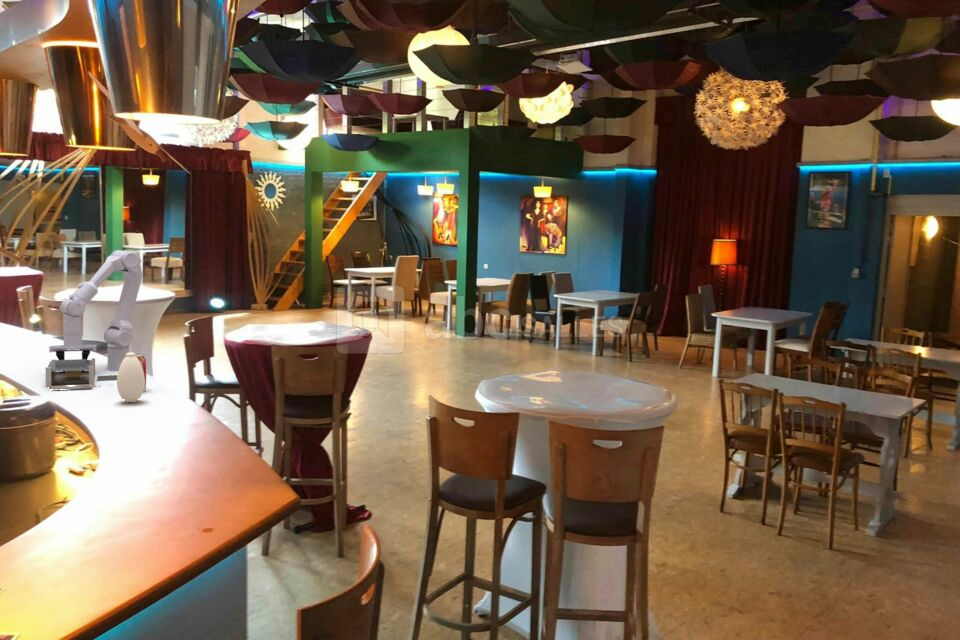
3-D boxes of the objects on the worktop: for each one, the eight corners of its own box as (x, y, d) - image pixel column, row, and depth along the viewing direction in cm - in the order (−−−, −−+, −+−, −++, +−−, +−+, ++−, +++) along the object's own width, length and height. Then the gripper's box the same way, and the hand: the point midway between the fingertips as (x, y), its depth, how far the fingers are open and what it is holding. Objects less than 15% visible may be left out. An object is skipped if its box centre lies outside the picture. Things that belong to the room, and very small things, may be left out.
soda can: (150, 389, 258) (150, 353, 256) (139, 393, 251) (138, 357, 249) (130, 388, 259) (129, 352, 257) (118, 392, 252) (117, 356, 250)
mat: (97, 377, 272) (97, 375, 272) (125, 376, 276) (125, 374, 276) (96, 382, 264) (96, 381, 264) (125, 381, 268) (125, 379, 268)
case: (51, 375, 273) (51, 355, 272) (96, 373, 279) (95, 354, 278) (46, 389, 252) (45, 367, 251) (94, 387, 258) (94, 366, 257)
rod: (48, 391, 249) (48, 386, 249) (49, 390, 250) (48, 385, 250) (93, 389, 254) (93, 384, 254) (93, 388, 256) (93, 383, 256)
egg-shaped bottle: (142, 405, 237) (141, 346, 234) (114, 405, 235) (113, 346, 233) (147, 399, 244) (146, 342, 242) (120, 399, 243) (119, 342, 240)
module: (66, 373, 274) (66, 360, 273) (80, 373, 276) (80, 359, 275) (66, 376, 270) (65, 362, 269) (80, 375, 272) (80, 362, 271)
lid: (50, 363, 265) (50, 355, 265) (94, 361, 271) (94, 354, 271) (46, 371, 252) (46, 363, 252) (93, 369, 258) (93, 361, 257)
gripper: (48, 335, 264) (49, 374, 266) (95, 334, 270) (96, 373, 272) (49, 332, 271) (50, 370, 272) (96, 331, 277) (96, 369, 278)
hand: (73, 371), depth 273 cm, fingers open, 5 cm apart
